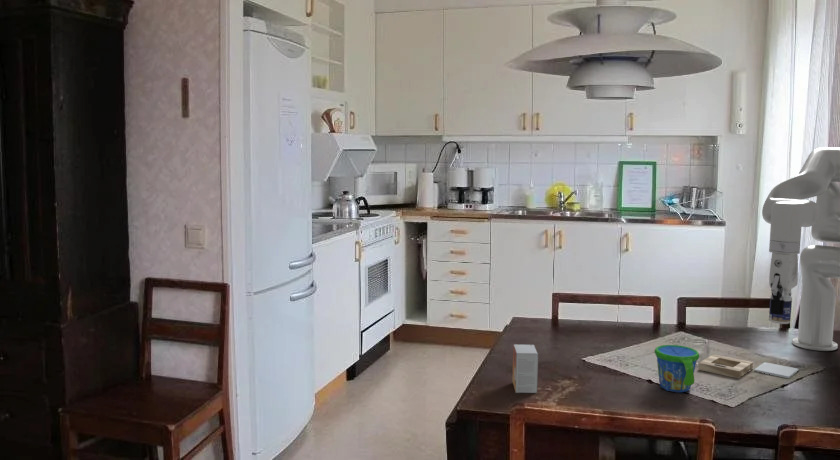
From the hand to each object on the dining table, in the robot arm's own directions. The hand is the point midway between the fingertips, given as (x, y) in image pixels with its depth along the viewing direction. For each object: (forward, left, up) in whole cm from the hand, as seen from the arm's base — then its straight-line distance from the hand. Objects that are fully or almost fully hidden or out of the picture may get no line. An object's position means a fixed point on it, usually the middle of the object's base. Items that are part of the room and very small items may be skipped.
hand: (780, 311), depth 202 cm
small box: (+59, -44, -17) cm, 76 cm away
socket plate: (+8, -11, -17) cm, 22 cm away
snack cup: (+33, -15, -17) cm, 40 cm away
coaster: (0, 0, -17) cm, 17 cm away
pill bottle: (0, 0, -3) cm, 3 cm away
